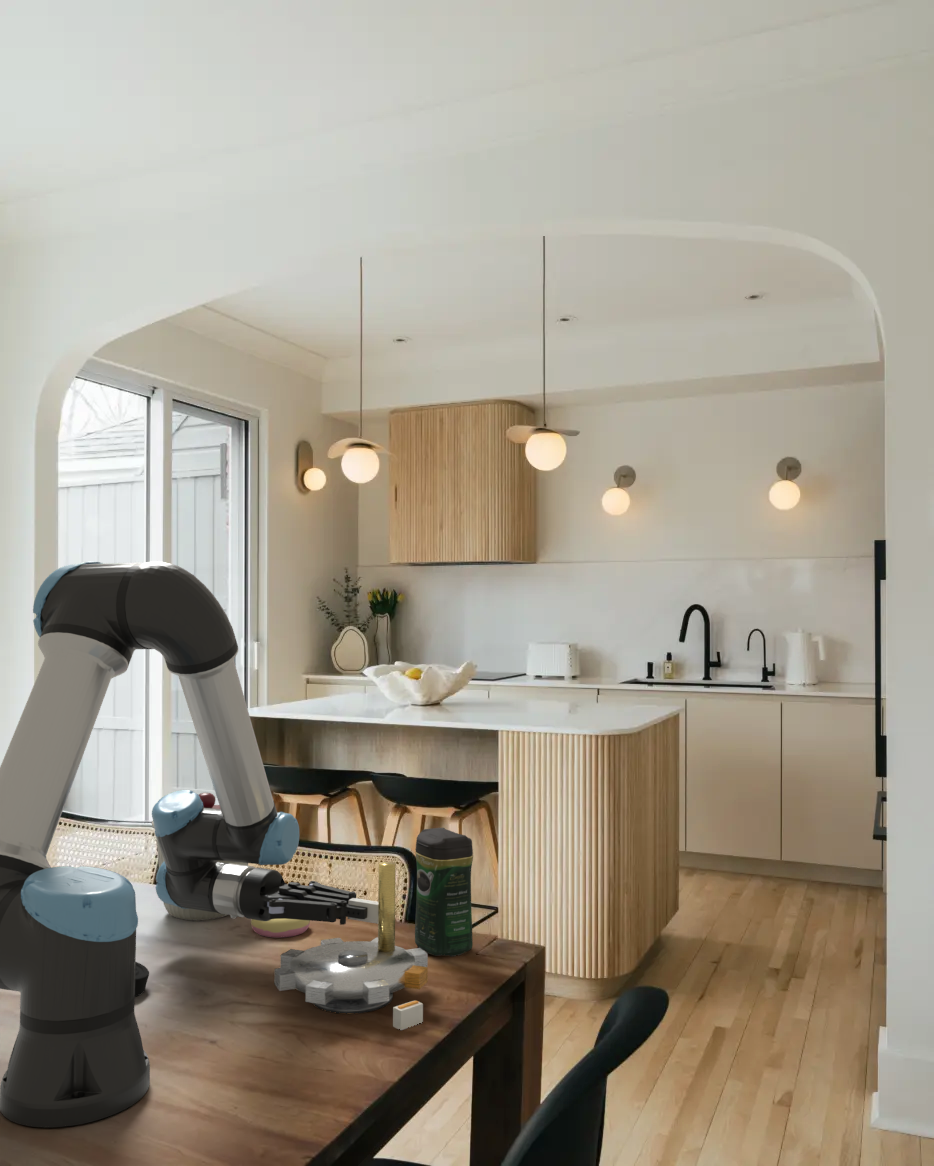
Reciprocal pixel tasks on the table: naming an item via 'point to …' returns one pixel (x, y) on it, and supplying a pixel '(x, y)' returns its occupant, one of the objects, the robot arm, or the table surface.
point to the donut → (280, 927)
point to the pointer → (407, 1015)
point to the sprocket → (357, 960)
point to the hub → (352, 1005)
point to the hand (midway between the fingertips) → (390, 914)
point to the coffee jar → (443, 892)
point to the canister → (194, 914)
